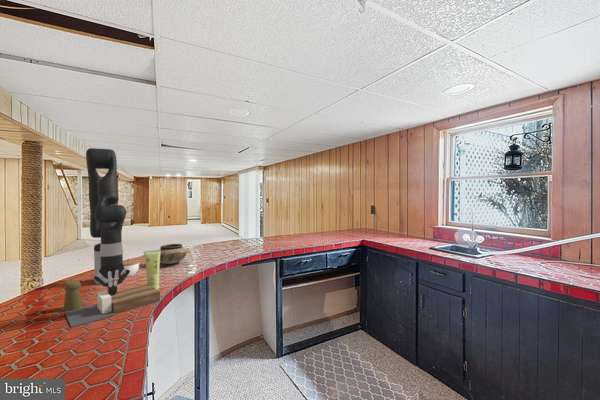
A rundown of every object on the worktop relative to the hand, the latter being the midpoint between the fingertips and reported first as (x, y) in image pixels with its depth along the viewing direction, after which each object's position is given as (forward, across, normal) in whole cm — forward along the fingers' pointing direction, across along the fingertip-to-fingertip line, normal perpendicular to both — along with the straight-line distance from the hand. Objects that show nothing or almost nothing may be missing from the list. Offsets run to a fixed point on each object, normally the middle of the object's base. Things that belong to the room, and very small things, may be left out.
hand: (112, 294), depth 109 cm
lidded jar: (+6, -18, -46) cm, 50 cm away
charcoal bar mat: (+6, +8, 0) cm, 9 cm away
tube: (+6, -19, -10) cm, 22 cm away
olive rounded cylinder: (+6, +11, -13) cm, 18 cm away
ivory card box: (+2, +1, 0) cm, 3 cm away
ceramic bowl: (+6, -44, -50) cm, 67 cm away
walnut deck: (+6, -8, 0) cm, 9 cm away
